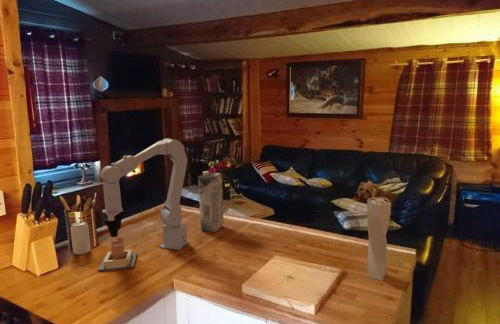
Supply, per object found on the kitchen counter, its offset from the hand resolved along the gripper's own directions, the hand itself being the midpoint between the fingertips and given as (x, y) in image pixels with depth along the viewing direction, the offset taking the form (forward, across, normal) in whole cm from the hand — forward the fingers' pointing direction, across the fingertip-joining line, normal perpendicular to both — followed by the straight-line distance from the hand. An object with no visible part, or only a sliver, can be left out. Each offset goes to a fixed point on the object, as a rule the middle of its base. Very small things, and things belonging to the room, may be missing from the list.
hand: (115, 232), depth 139 cm
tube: (+10, +4, +1) cm, 10 cm away
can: (+11, -10, -15) cm, 21 cm away
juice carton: (+11, -23, +38) cm, 46 cm away
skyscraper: (+11, +36, +87) cm, 95 cm away
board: (+10, +4, +1) cm, 11 cm away
